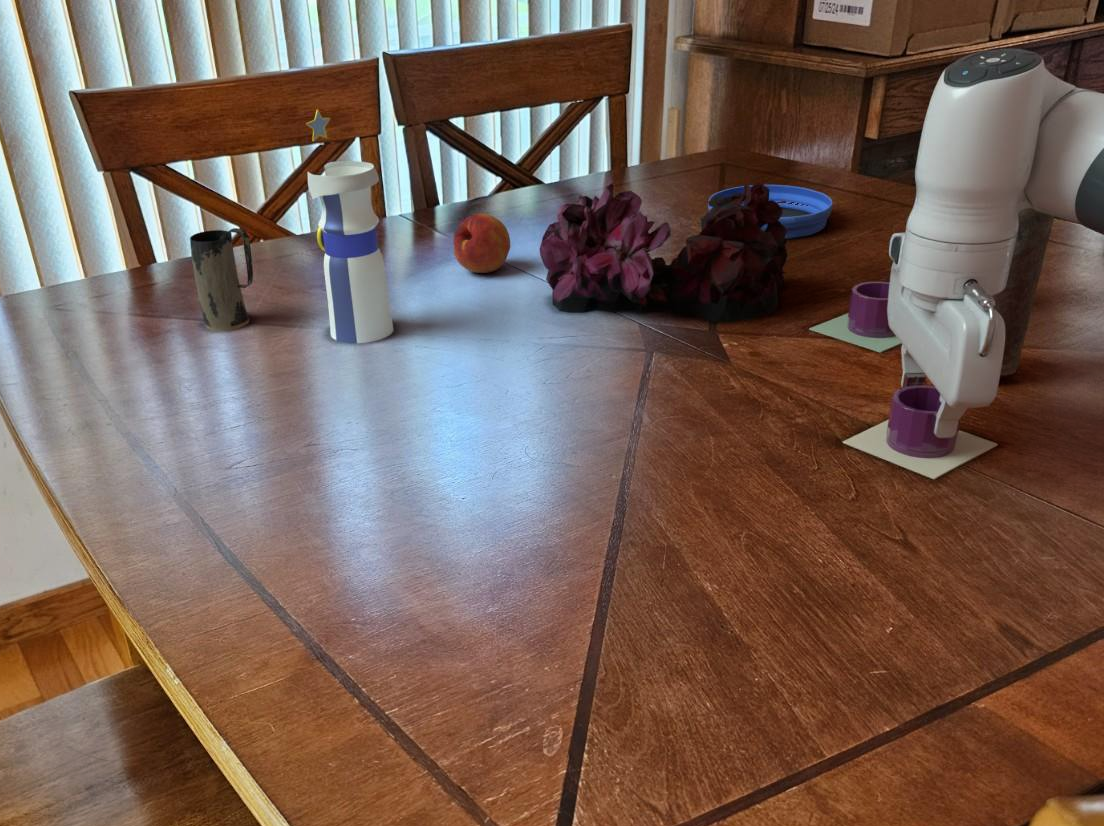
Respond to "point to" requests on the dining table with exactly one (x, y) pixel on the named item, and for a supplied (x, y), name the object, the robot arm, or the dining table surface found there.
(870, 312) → the dish
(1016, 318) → the grey stone cylinder
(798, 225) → the bowl
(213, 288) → the mug
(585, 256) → the flower arrangement
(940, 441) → the dish
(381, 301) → the water bottle
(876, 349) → the pad far
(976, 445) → the pad near
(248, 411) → the dining table surface
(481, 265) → the fruit
